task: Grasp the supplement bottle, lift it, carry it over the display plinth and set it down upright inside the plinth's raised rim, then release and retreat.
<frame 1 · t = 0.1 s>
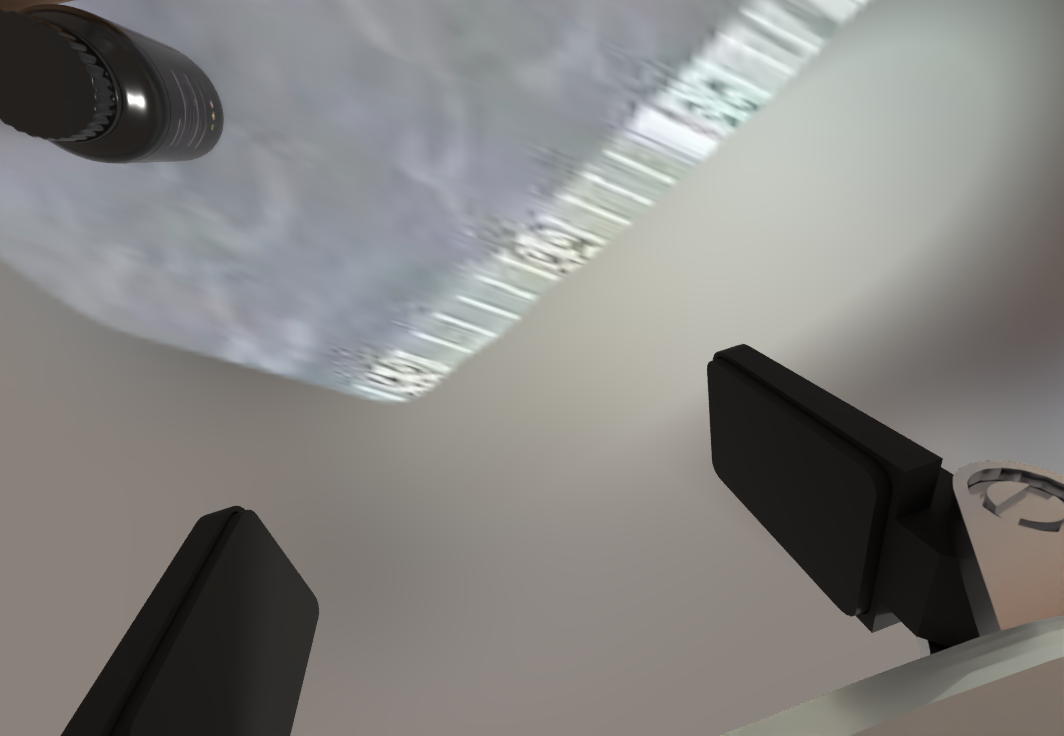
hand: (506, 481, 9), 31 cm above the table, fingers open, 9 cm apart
supplement bottle: (171, 105, 30), on the table
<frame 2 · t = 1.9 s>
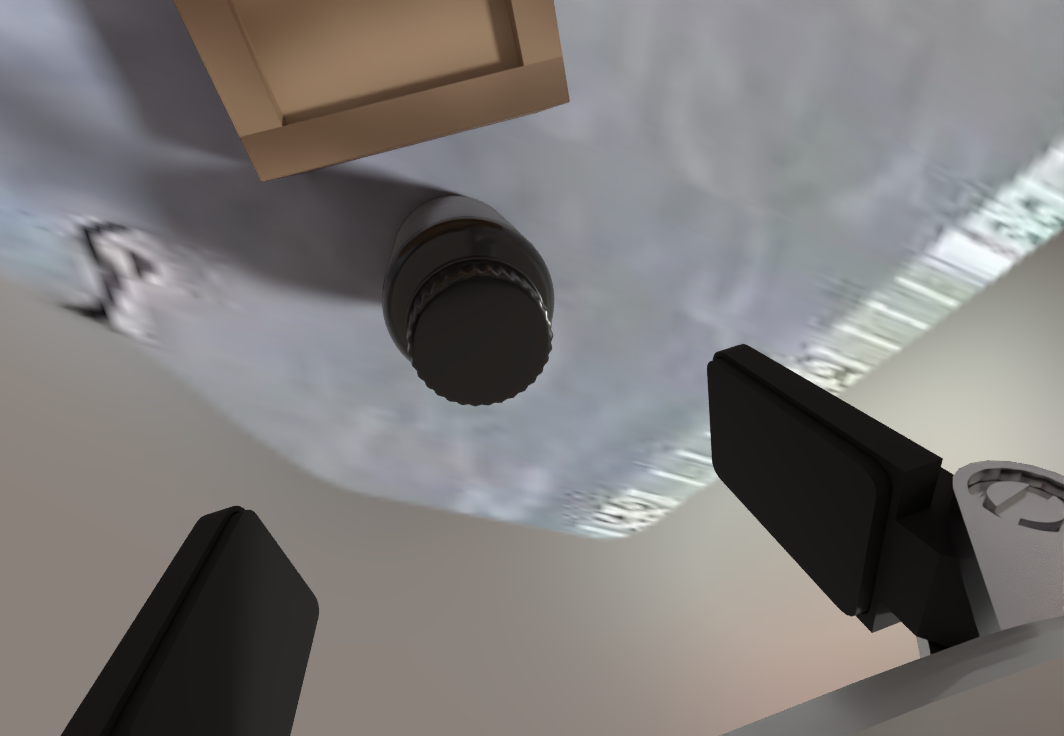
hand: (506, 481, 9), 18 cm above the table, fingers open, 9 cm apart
supplement bottle: (458, 259, 25), on the table
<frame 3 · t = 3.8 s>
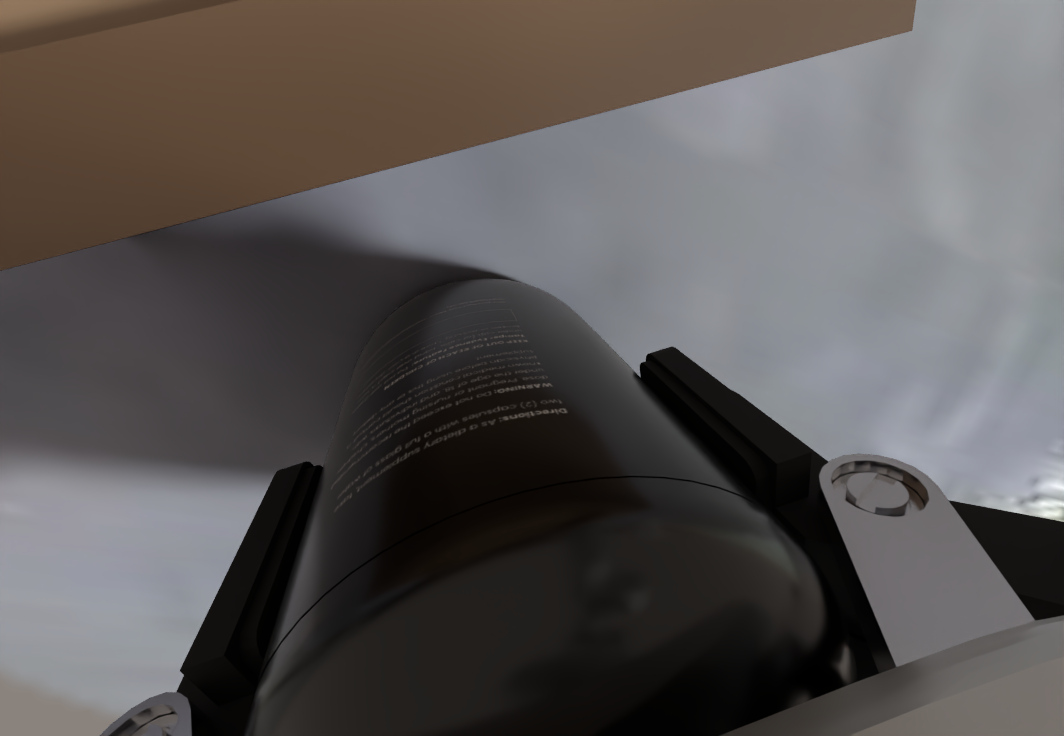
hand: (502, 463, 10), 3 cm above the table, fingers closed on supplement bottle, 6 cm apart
supplement bottle: (484, 391, 13), on the table, touching gripper
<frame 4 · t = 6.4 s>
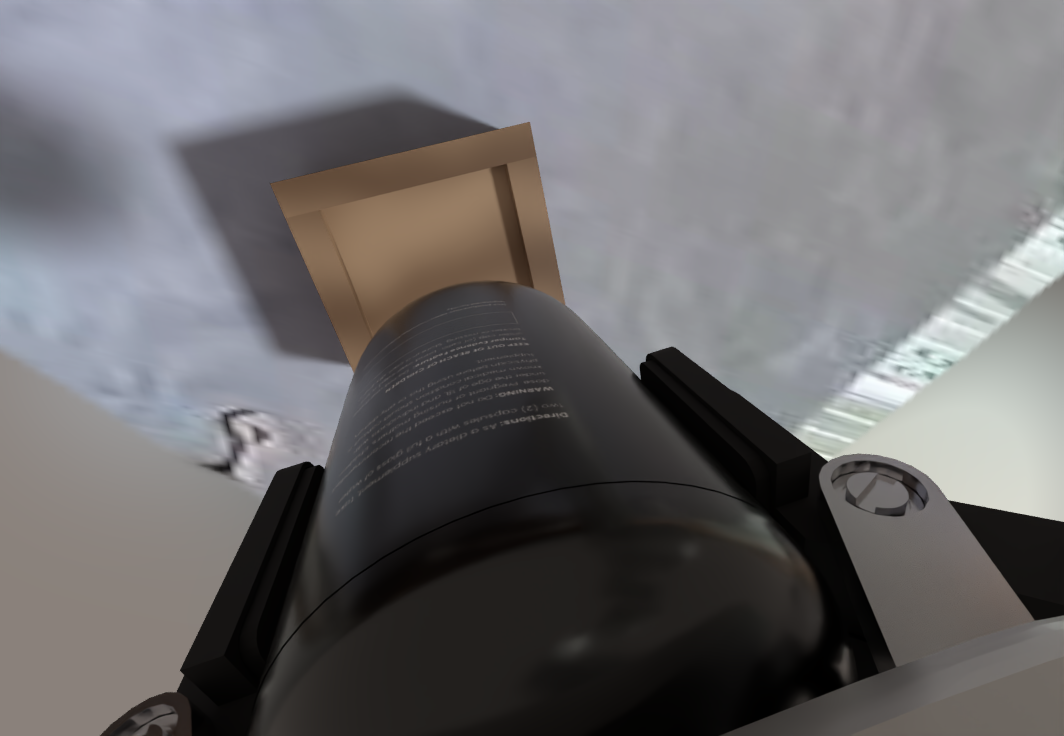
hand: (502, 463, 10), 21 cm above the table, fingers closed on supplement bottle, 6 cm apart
supplement bottle: (484, 392, 13), point 18 cm above the table, touching gripper
display plinth: (439, 259, 28), on the table
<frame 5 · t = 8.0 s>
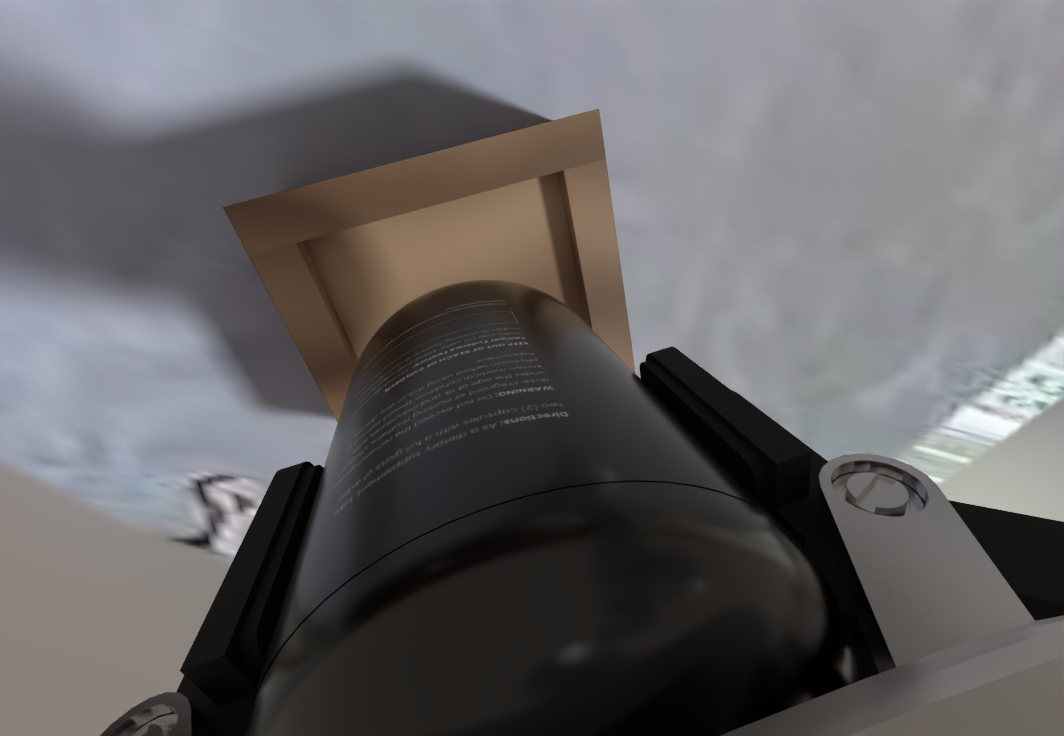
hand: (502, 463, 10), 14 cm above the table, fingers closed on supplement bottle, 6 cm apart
supplement bottle: (484, 392, 13), point 10 cm above the table, touching gripper
display plinth: (462, 288, 22), on the table
when the fingers open (10 cm above the table, at t = 9.3 s): supplement bottle drops 2 cm, resting on display plinth.
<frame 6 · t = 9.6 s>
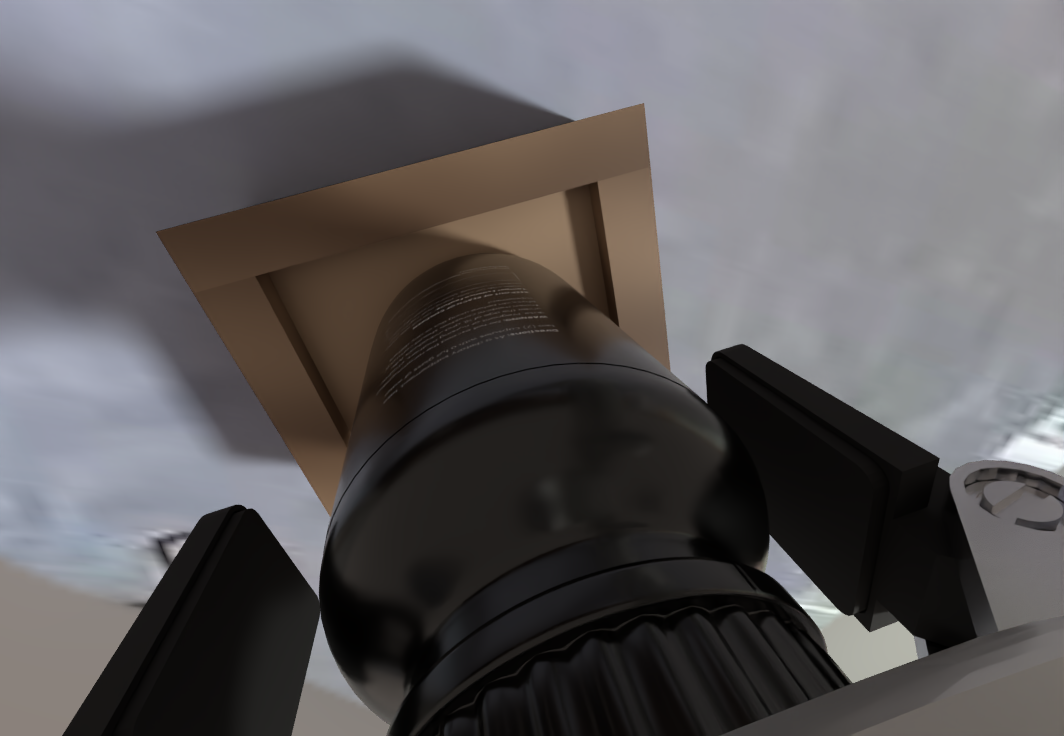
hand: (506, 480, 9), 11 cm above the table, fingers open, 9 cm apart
supplement bottle: (487, 356, 14), point 5 cm above the table, touching display plinth
display plinth: (466, 316, 19), on the table
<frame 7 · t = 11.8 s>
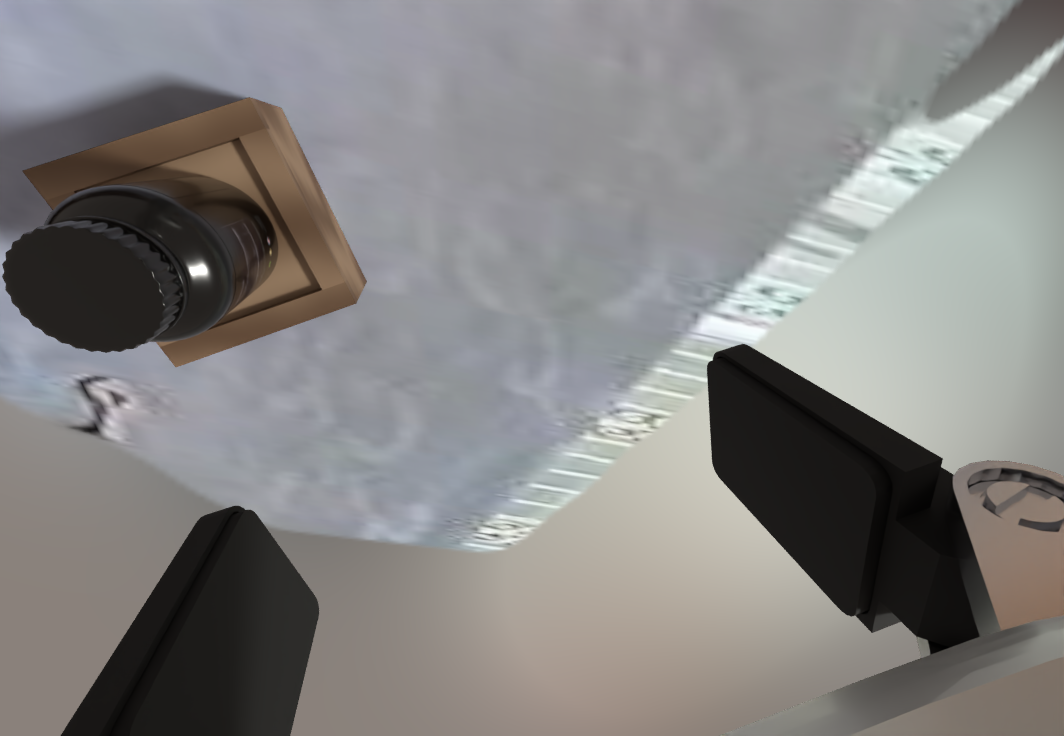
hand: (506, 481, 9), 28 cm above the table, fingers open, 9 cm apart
supplement bottle: (220, 237, 27), point 5 cm above the table, touching display plinth
display plinth: (245, 230, 31), on the table
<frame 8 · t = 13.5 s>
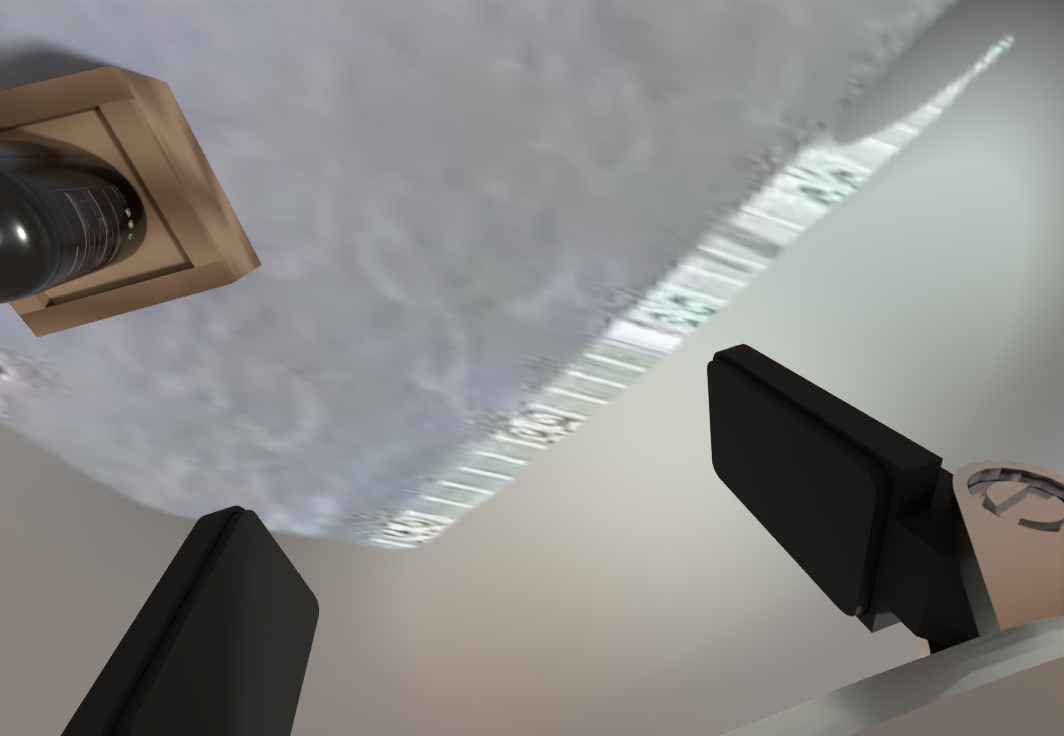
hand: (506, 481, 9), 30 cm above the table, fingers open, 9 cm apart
supplement bottle: (86, 207, 26), point 5 cm above the table, touching display plinth
display plinth: (129, 204, 31), on the table
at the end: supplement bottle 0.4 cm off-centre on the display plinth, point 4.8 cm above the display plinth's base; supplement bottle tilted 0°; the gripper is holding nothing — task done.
